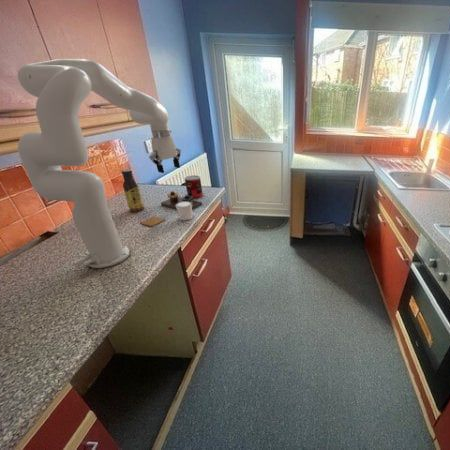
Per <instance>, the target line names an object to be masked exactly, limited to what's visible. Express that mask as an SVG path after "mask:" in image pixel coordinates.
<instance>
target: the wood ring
mask: <svg viewBox="0 0 450 450" xmlns="http://www.w3.org/2000/svg"><path fill="white" fill-rule="evenodd" d="M181 198H182V201H186V202H187V201H191V200H194V198H193V197H192V196H189V199H186V198H185V196H183V197H181Z"/></svg>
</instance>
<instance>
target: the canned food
mask: <svg viewBox="0 0 450 450" xmlns="http://www.w3.org/2000/svg"><path fill="white" fill-rule="evenodd" d="M184 184H185V188H186V193H187V195H189V196H192V197H193V199H199V198H201V197H203V193H204V192H203V186H202V181H201V176H199V175H196V174H195V175H188V176H185V177H184Z"/></svg>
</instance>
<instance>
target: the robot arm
mask: <svg viewBox="0 0 450 450" xmlns="http://www.w3.org/2000/svg"><path fill="white" fill-rule="evenodd" d="M17 79H18V82H19V84H20V86H21V87H22V89H24V90H25V91H26V92H27V93H28V94H30V95H31V96H33V97H35V98H36V99H37V100H36V103H35V115H36V118H37V122H38V125H39V128H40V131H28V132H26V133H24V134H23V135H21V136H20V138H19V140H18V142H17V152H18V155H19V157H20V160H21V162H22V165H23V167H24V170H25V172H26V175H27V177H28V179H29V181H30V184H31V186H32V189H33V190H34V191H35V193H36V194H37V195H38V196H39V197H41V198H42V199H45V200H49V201H59V202H71V203H73V208H72V211H71V212H72V213H71V215H72V220H73V222H74V224H75V226H76V229H77V230H78V232H79V234H80V237H81V239H82V242H83V244H84V246H85V248H86V251H85V252H84V255H83V256H82V257H81V258H79V259H77V260H75V261H73V262H72V264H73V266H74V267H76V268H78V267H80V266H81V265H83V266H84V267H87V266H88V267H90V268H93V269H94V268H95V269H103V268H109V267H112V266H115V265H117V264H120V263H122V262H123V261H125V260H126V259H127V258H128V257H129V256H130V253H131V251H130V249H129V247H128V246H125V245H123V244H122V241H121V238H120V235H119V232H118V230H117V227H116V225H115V221H114V219H113V216H112V214H111V211H110V208H109V205H108V201H107V197H106V189H105V184H104V181H103V179H102V178H101V177H100V176H99V175H97V174H96V173H93V172H90V171H87V170H76V169H75V170H74V169H62V167H80V166H84V165H85V164H87V163H88V161H89V150H88V146H87V143H86V140H85V137H84V133H83V131H82V126H81V123H80V119H79V118H80V117H79V110H80V107H81V105H82V104H83V102H84V101H85V100H86V99H87V98H88V97H89V95H90V94H91V92H93V93H95V94H96V95H98V96H99V97H101V98H102V99H103V100H105V101H107V102H108V103H110V104H111V105H113V106H114V107H117V108H120V109H122V110H127V111H128V112H129V117H130V119H131V120H132V121H133V122H134V123H136V124H137V125H149V127H150V131H151V135H152V137H151V139H150V140H151V150H152V153H151V154H150V155H149V156H148V158H149V160H150V161H151V162H152V163H153V164H155V165H156V169H157V172H158V173H160V174H164V173H165V170H164V166H163V164H162V163H163V161H165V160H169V159H172V162H173V165H174V166H173V167H174V168H176V169H180V168H181V166H180V157H181V154H182V153H181V152H182V149H180V148H178V147H176V144H175V141H174V138H173V137H172V135H171V133H172V130H171V129H170V127H169V113H168V111H167V109H166V108H165V106H164V105H163V104H161V103H160V102H159V101H158V100H157V99H156V98H154V97H153V96H150V95H149V94H146V93H144V92H142V91H140V90H138V89H135V88H133V87H130V86H128V85H126V84H125V83H124V82H123V81H122V80H121V79H119V78H118V77H117V76H115V75H114V74H113V73H112V72H111V71H110V70H108V69H107V68H106V67H105V66H103V65H102V64H100V63H99V62H97V61H95V60H93V59H88V58H58V59H57V58H56V59H51V60H47V61H39V62H34V63H26V64H24V65H22V66H21V67H20V68H19V69H18V71H17Z"/></svg>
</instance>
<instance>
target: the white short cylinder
mask: <svg viewBox="0 0 450 450" xmlns="http://www.w3.org/2000/svg"><path fill="white" fill-rule="evenodd" d="M175 206H176V209H175V210H176V212H177V214H178V217H179V220H181V221H188V220H191V219H192V218H193V210H192V205H191V202H186V201H185V202H179V203H177V204H176V205H175Z"/></svg>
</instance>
